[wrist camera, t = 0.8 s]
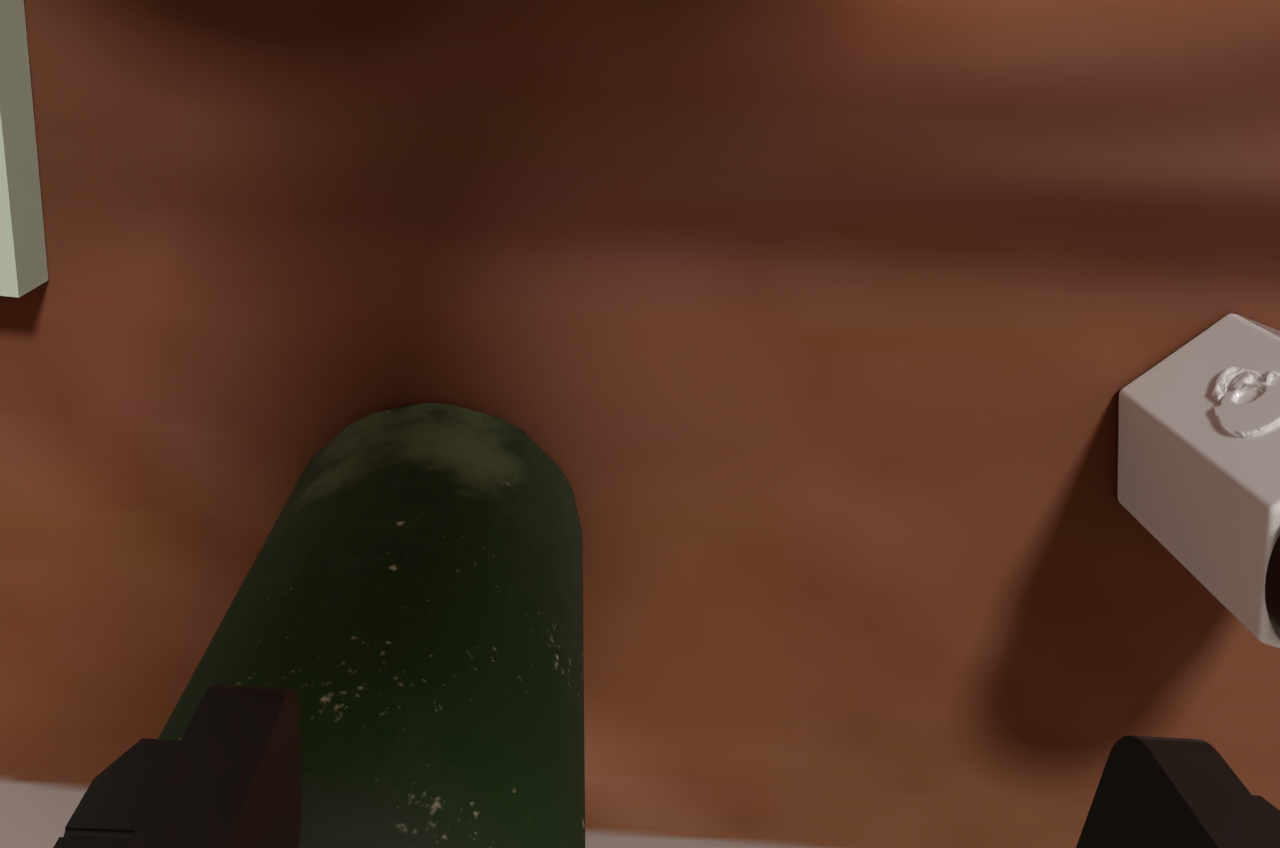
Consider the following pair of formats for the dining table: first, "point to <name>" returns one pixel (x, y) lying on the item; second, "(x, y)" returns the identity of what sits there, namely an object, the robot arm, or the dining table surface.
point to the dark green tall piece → (421, 636)
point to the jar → (1212, 464)
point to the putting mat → (18, 163)
